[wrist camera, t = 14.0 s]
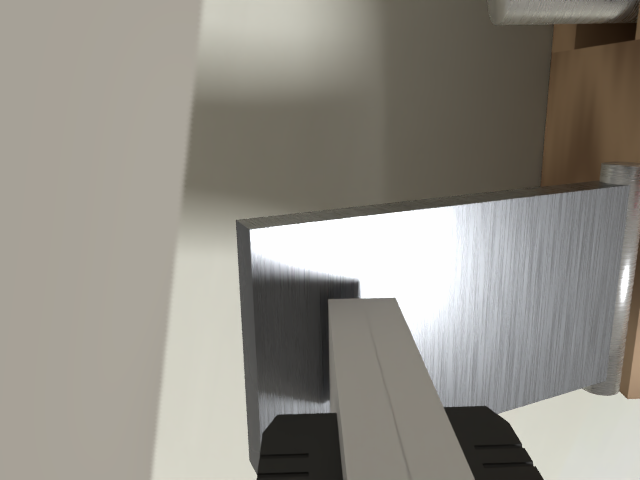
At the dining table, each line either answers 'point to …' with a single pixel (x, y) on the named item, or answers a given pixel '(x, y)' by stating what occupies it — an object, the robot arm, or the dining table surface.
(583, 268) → the silver flat rectangular plate
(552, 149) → the block
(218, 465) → the dining table surface
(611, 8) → the pin
